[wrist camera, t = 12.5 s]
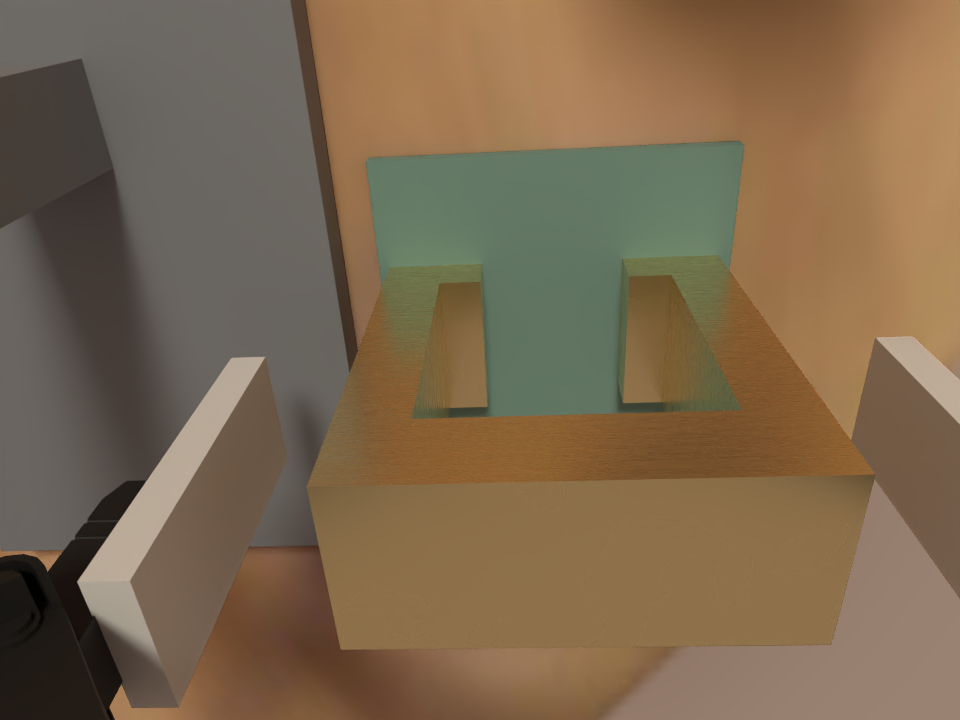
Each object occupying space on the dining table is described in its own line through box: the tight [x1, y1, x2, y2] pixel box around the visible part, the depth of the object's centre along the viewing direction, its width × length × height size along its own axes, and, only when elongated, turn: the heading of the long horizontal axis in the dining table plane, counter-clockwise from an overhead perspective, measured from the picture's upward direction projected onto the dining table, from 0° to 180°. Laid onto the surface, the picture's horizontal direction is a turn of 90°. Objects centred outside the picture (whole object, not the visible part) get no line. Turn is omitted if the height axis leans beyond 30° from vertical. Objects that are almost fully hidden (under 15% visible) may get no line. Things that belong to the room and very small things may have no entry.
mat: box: [366, 141, 744, 418], centre depth 20 cm, size 9×9×1 cm
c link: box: [307, 255, 876, 650], centre depth 16 cm, size 8×4×9 cm, turn 93°
